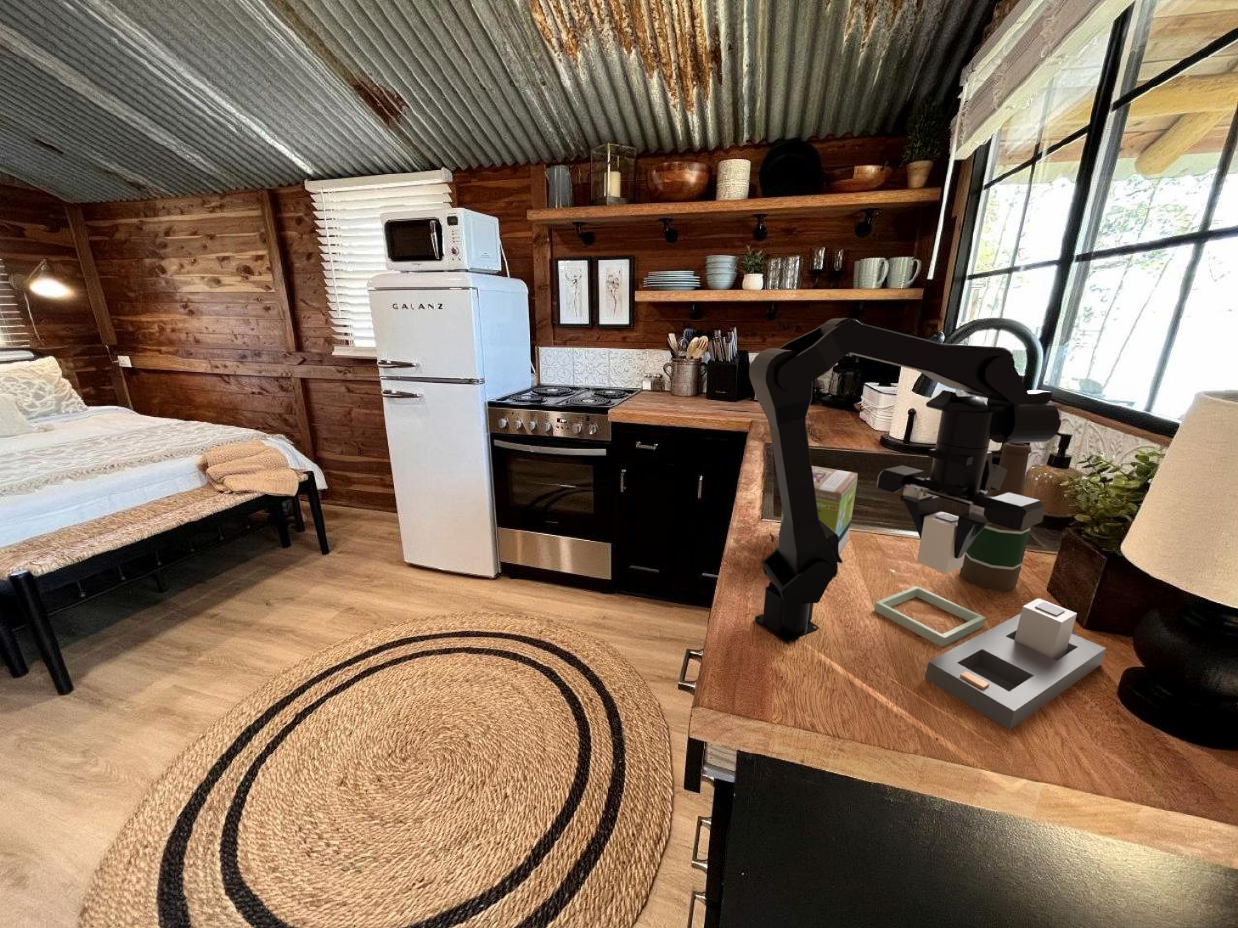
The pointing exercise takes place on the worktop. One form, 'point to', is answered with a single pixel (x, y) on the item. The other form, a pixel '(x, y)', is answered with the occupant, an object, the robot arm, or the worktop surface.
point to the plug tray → (922, 630)
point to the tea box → (834, 500)
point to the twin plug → (1045, 628)
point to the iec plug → (939, 543)
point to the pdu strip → (1010, 673)
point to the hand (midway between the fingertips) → (941, 551)
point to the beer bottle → (1000, 532)
